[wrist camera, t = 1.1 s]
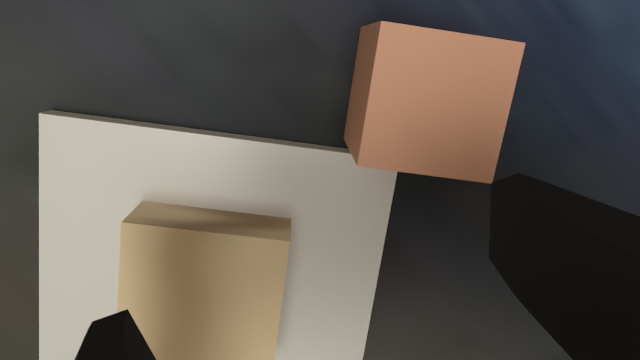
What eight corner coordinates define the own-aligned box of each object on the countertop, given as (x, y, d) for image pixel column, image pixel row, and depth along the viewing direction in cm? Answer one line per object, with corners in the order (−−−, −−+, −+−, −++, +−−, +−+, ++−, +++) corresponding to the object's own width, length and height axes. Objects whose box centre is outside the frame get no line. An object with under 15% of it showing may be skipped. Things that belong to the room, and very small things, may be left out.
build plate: (394, 154, 21) (399, 160, 20) (350, 397, 24) (352, 411, 23) (51, 110, 20) (39, 113, 19) (49, 369, 23) (39, 384, 22)
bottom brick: (291, 218, 21) (290, 241, 18) (274, 346, 22) (271, 383, 20) (142, 200, 20) (120, 222, 18) (135, 333, 22) (115, 368, 19)
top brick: (471, 43, 20) (525, 42, 15) (447, 152, 21) (492, 183, 16) (360, 26, 20) (381, 20, 15) (343, 138, 21) (357, 166, 16)
